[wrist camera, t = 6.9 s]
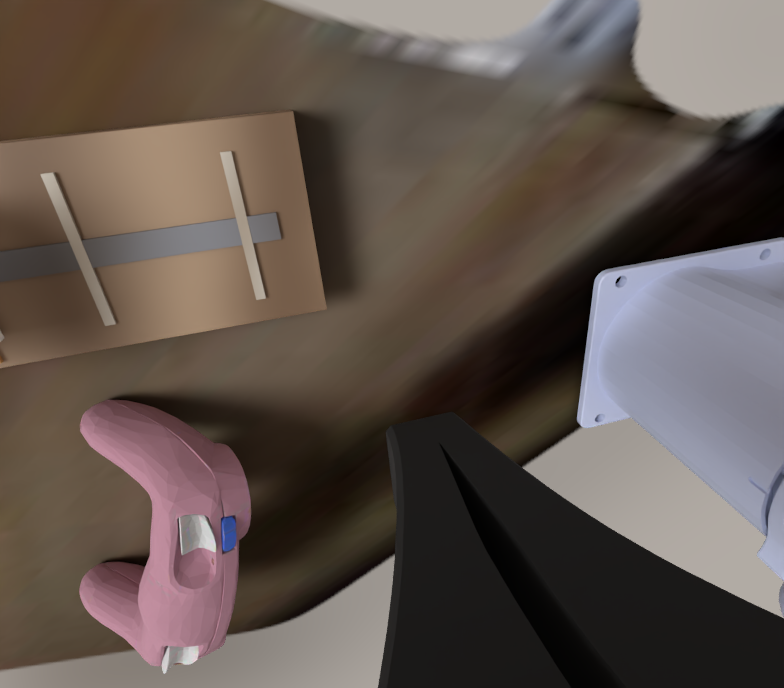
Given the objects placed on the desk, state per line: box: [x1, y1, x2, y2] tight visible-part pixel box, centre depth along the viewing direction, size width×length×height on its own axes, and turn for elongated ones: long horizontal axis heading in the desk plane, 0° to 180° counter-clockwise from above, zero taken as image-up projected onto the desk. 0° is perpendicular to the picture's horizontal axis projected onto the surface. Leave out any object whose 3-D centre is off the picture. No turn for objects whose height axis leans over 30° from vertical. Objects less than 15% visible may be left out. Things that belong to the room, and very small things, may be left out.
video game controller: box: [79, 400, 251, 674], centre depth 18 cm, size 10×5×7 cm, turn 164°
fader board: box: [0, 110, 327, 368], centre depth 14 cm, size 13×6×2 cm, turn 95°
